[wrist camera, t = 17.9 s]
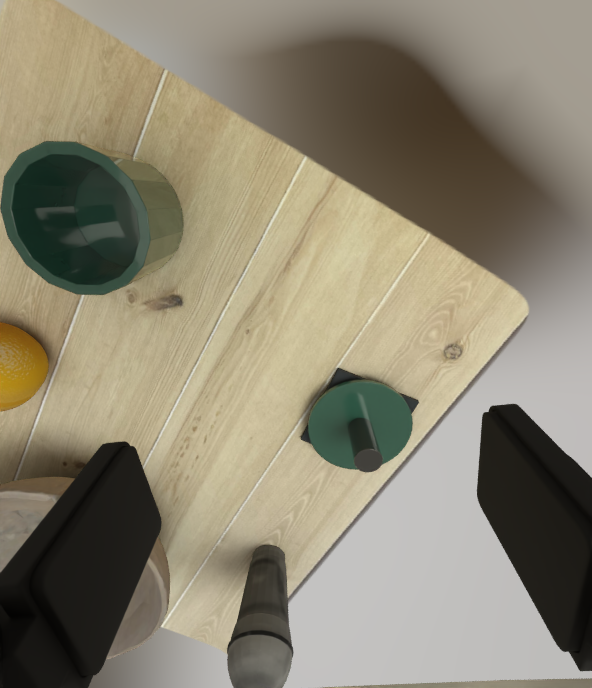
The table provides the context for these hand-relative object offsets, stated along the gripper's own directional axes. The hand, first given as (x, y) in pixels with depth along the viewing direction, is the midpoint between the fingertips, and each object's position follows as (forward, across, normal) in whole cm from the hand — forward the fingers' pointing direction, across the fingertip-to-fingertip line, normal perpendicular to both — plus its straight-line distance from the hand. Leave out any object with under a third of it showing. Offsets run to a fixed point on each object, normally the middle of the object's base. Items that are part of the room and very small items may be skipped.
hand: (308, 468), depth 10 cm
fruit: (+28, +32, +5) cm, 43 cm away
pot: (+28, +16, -7) cm, 33 cm away
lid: (+27, -4, +18) cm, 33 cm away
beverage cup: (+28, +10, +39) cm, 49 cm away
